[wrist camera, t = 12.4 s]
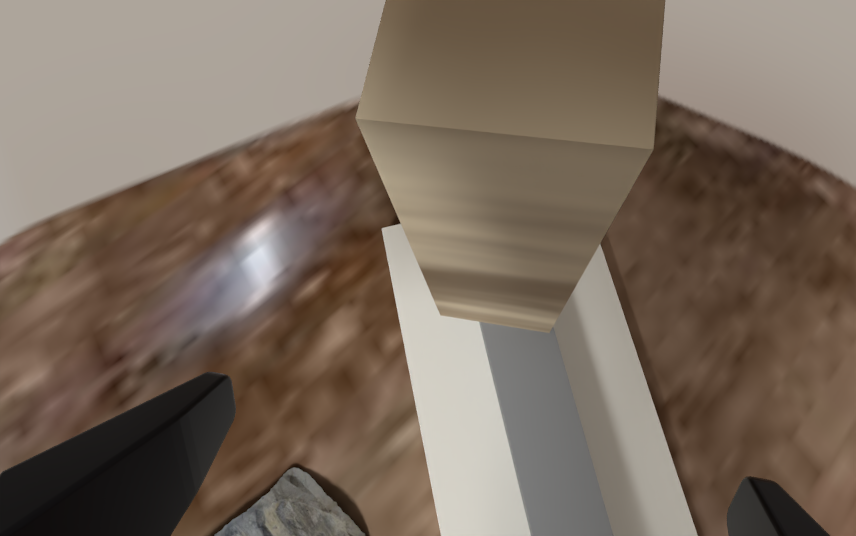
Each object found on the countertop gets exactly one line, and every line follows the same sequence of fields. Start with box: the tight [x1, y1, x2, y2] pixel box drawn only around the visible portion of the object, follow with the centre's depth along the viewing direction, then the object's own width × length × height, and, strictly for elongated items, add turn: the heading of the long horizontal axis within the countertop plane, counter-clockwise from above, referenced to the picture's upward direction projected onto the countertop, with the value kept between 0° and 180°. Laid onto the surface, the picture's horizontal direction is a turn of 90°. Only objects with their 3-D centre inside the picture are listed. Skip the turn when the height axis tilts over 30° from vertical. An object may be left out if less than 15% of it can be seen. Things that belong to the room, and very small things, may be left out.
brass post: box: [355, 0, 665, 333], centre depth 14 cm, size 4×4×13 cm
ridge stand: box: [382, 224, 698, 536], centre depth 19 cm, size 22×9×4 cm, turn 12°
